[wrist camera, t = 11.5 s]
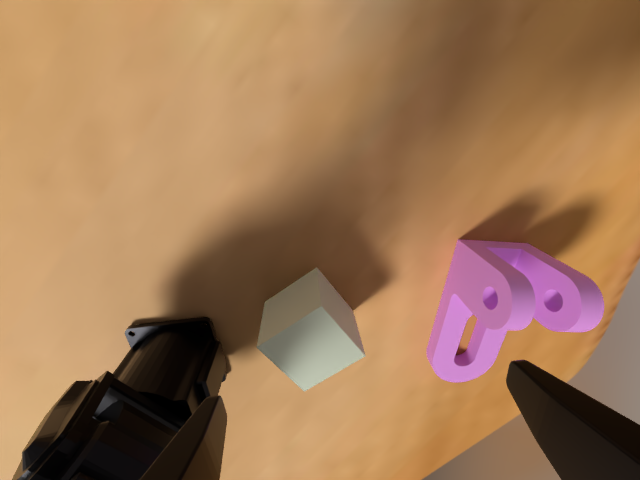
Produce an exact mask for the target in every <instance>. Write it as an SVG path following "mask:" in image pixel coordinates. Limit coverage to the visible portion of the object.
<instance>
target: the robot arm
mask: <svg viewBox="0 0 640 480" xmlns="http://www.w3.org/2000/svg"><path fill="white" fill-rule="evenodd" d="M202 323H205V324H207V325H204V324H202ZM132 331H133V332H134V333H133V332H132ZM125 335H126V338H127V340H128V342H129V344H130V347H131V350H130V351H129V352H128V354H127V355H126V356H125V358H124V359H123V361H122V362H121V363H120V365H119V366H118V367H117V369H116V370H115V372H114V373H113V374H112V373H110V372H109V371H106V372H105V373H104V374H103V375H101V376H100V377H99V378H98V379H97V380H94V381H92V380H90V381H76V382H74V383H73V384H72V385H71V386H70V387H69V388H68V389H67V390H66V392H65V393H64V394H63V395H62V396H61V398H60V399H59V400H58V401H57V402H56V403H55V405H54V406H53V407H52V408H51V410H50V411H49V412H48V413H47V415H46V416H45V417H44V419H43V420H42V422H41V423H40V425H39V426H38V428H37V430H36V431H35V433H34V434H33V436H32V437H31V439H30V441H29V442H28V444H27V445H26V447H25V448H24V450H23V452H22V460H21V462H20V464H19V466H18V468H17V470H16V472H15V475H14V477H13V479H12V480H219V479H220V472H221V464H222V456H223V449H224V441H225V433H226V425H227V413H226V410H225V407H224V403H223V400H222V398H221V396H219V395H218V393H219V389H220V386H221V383H222V382H224V381H225V379H226V376H227V373H226V370H225V369H226V365H227V364H226V361H225V357H224V353H223V350H222V346H221V343H220V342H219V341H218V340H217V338H216V335H215V331H214V328H213V324H212V321H211V320H210V319H209V318H207V317H201V318H192V319H184V320H175V321H166V322H157V323H148V324H139V325H131V326H129V327H128V328H127V330H126V331H125ZM506 383H507V387H508V389H509V391H510V393H511V395H512V396H513V398H514V400H515V402H516V404H517V406H518V408H519V410H520V412H521V413H522V415H523V417H524V419H525V421H526V423H527V424H528V426H529V428H530V430H531V432H532V434H533V436H534V437H535V439H536V441H537V442H538V444H539V446H540V447H541V449H542V450H543V452H544V453H545V455H546V457H547V458H548V460H549V461H550V463H551V464H552V466H553V467H554V469H555V471H556V472H557V474H558V475H559V477H560V478H561V480H640V425H639V424H637V423H635V422H633V421H632V420H630V419H628V418H626V417H625V416H623V415H621V414H620V413H618V412H616V411H614V410H613V409H611V408H609V407H607V406H606V405H604V404H602V403H600V402H598V401H597V400H595V399H593V398H591V397H590V396H588V395H586V394H585V393H583V392H581V391H579V390H577V389H576V388H574V387H572V386H571V385H569V384H567V383H565V382H564V381H562V380H560V379H558V378H557V377H555V376H553V375H551V374H550V373H548V372H546V371H544V370H543V369H541V368H539V367H537V366H536V365H534V364H532V363H530V362H528V361H526V360H516V361H511V363H510V364H509V369H508V374H507V378H506Z"/></svg>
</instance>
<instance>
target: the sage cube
mask: <svg viewBox="0 0 640 480" xmlns="http://www.w3.org/2000/svg"><path fill="white" fill-rule="evenodd" d="M257 348H258V349H259V350H260V351H261V352H262V353H263V354H264V355H265V356H266V357H268V358H269V359H270V360H271V361H272V362H273V363H274V364H275V365H276V366H277V367H278V368H279V369H281V370H282V371H283V372H284V373H285V374H286V375H287V376H288V377H289V378H290V379H291V380H292V381H294V382H295V383H296V384H297V385H298V386H299V387H300V388H301V389H302V390H303V391H306V390H308V389H310V388H311V387H313V386H315V385H317V384H318V383H320V382H322V381H323V380H325V379H327V378H329V377H330V376H332V375H334V374H335V373H337V372H339V371H341V370H342V369H344V368H346V367H347V366H349V365H351V364H353V363H354V362H356V361H358V360H360V359H361V358H363V357H365V352H364V349H363V345H362V341H361V338H360V334H359V331H358V327H357V323H356V320H355V316H354V313H353V310H352V309H351V308H350V306H349V305H348V304H347V303H346V302H345V300H344V299H343V298H342V297H341V296H340V294H339V293H338V292H337V291H336V290H335V288H334V287H333V286H332V285H331V284H330V282H329V281H328V280H327V279H326V278H325V276H324V275H323V274H322V273H321V271H320V270H319V269H318V268H317V267H316V268H315V269H313V270H312V271H310V272H309V273H307V274H306V275H304V276H303V277H301V278H300V279H298V280H297V281H295V282H294V283H292V284H291V285H289V286H288V287H286V288H285V289H283V290H282V291H280V292H279V293H277V294H276V295H274V296H273V297H271V298H270V299H268V300H267V301H265V304H264V309H263V315H262V320H261V326H260V331H259V337H258V342H257Z"/></svg>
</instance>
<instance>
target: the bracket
mask: <svg viewBox="0 0 640 480" xmlns="http://www.w3.org/2000/svg"><path fill="white" fill-rule="evenodd" d="M603 312H604V301H603V297H602V294H601V292H600V290H599V288H598V286H597V285H596V284H595V283H594V282H593V281H592V280H591V279H590V278H589V277H587V276H586V275H584V274H582V273H580V272H578V271H577V270H575V269H573V268H571V267H569V266H568V265H566V264H564V263H562V262H560V261H559V260H557V259H555V258H553V257H551V256H550V255H548V254H546V253H544V252H542V251H541V250H539V249H537V248H535V247H533V246H532V245H530V244H528V243H515V242H497V241H480V240H462V239H458V241H457V244H456V248H455V251H454V255H453V258H452V262H451V265H450V269H449V272H448V276H447V279H446V283H445V286H444V290H443V293H442V297H441V300H440V304H439V307H438V311H437V315H436V318H435V322H434V325H433V329H432V332H431V336H430V339H429V343H428V346H427V358H428V360H429V362H430V364H431V366H432V368H433V370H434V371H435V373H436V374H437V375H438V376H439V377H440V378H441V379H443V380H446V381H449V382H465V381H469V380H472V379H475V378H477V377H479V376H480V375H482V374H484V373H485V372H486V371H487V370H488V369H489V368H490V367H491V366H492V365H493V363H494V362H495V359H496V357H497V355H498V352H499V350H500V347H501V345H502V342H503V340H504V337H505V335H506V332H507V330H521V329H524V328H525V327H527V326H528V325H529V324H530V322H531V321H532V319H533V318H535V319H536V320H537V321H538V322H539V323H540V324H542V325H543V326H544V327H546V328H547V329H549V330H552V331H557V332H586V331H589V330H591V329H593V328H594V327H596V326H597V325H598V323H599V322H600V320H601V319H602V316H603ZM473 314H474V315H475V316H476V318H477V322H476V325H475V328H474V331H473V333H472V336H471V339H470V342H469V345H468V348H467V350H466V351H465V352H464V353H462V354H460V355H456V352H457V349H458V346H459V343H460V340H461V337H462V334H463V331H464V328H465V325H466V322H467V320H468V318H469V317H470V316H472V315H473Z"/></svg>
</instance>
